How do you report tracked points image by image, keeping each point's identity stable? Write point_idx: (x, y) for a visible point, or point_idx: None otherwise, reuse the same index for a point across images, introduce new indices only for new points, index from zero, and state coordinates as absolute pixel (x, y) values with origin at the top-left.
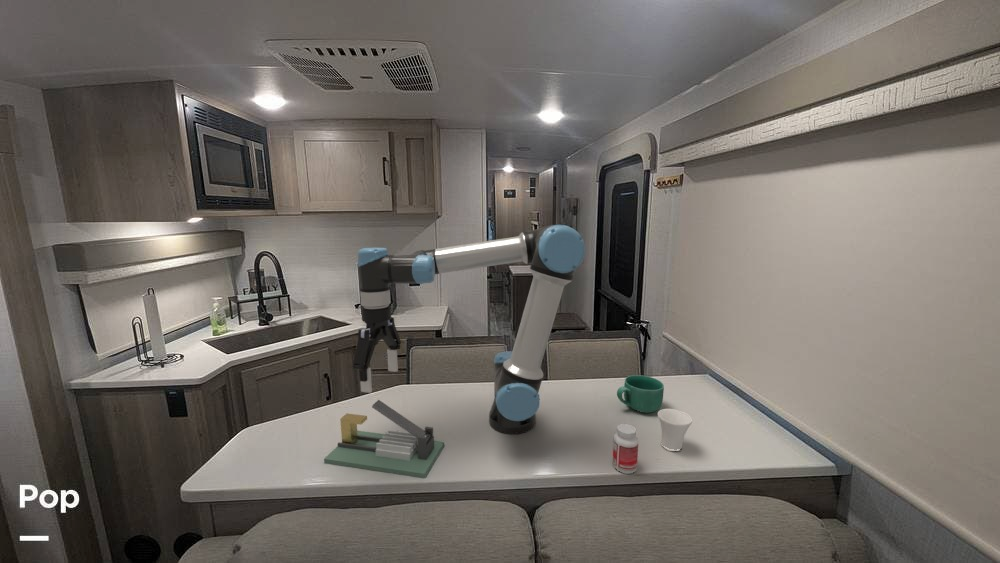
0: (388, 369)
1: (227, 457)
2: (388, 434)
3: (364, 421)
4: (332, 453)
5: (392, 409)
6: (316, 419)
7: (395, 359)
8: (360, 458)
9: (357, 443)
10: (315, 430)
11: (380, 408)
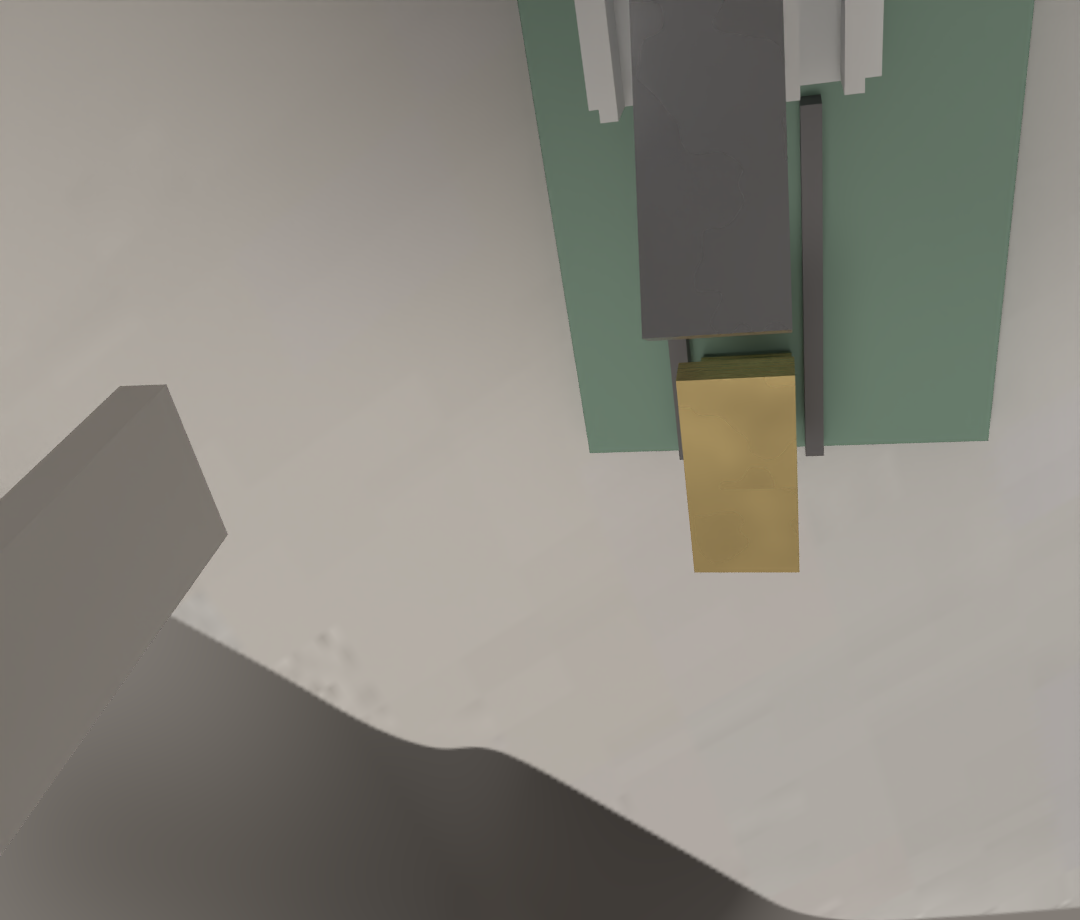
0: (211, 551)
1: (1009, 888)
2: None
3: (732, 360)
4: (910, 424)
5: (641, 79)
6: (544, 729)
7: (2, 570)
8: (939, 173)
9: None
10: (649, 673)
11: (773, 208)
